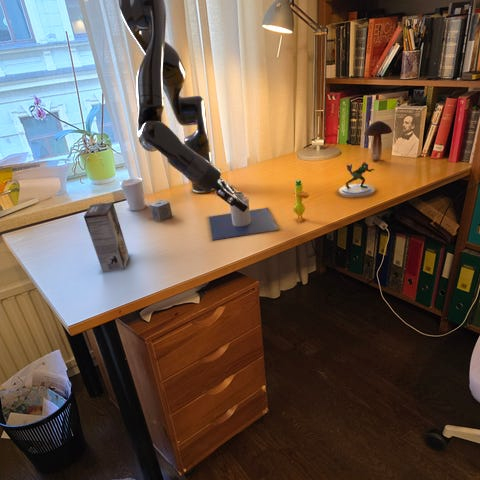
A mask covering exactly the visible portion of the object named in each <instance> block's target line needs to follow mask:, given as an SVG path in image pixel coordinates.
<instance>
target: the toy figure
mask: <svg viewBox="0 0 480 480" xmlns="http://www.w3.org/2000/svg"><path fill="white" fill-rule="evenodd" d="M294 191H295V192H294V195H295V200H296V204H295V203H294V204H293V205H294V206H293V207H294V208H293V209H292V210H293V212H294V213H295V214H296V216H297V221H298V222H303V221H306V219H305V217H303V215H304V213H305V211H306V208H305V205H304V203H303V199H308V198H309V196H310V193H308V192H306V191H304V190H303V183H302V180H301V179H298V180H295V184H294Z"/></svg>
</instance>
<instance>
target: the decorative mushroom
mask: <svg viewBox="0 0 480 480" xmlns="http://www.w3.org/2000/svg"><path fill="white" fill-rule="evenodd" d="M392 133H393V130H392V128H391V126H390V125H389V124H387V123H385V122H384V121H381V120H377V121H373V122H372V123H370V125H368V126H367V127H366V129H365V130H364V132H363V135H364V136H368V137H373V138H372V143H371V150H370V159H371V160H373V161H378V160H380V159H381V157H382V152H383V151H382V149H383V147H382V145H383V142H382V135H387V134H392Z"/></svg>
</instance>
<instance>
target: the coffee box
mask: <svg viewBox="0 0 480 480" xmlns="http://www.w3.org/2000/svg"><path fill="white" fill-rule="evenodd" d="M83 218H84V221H85V224H86V228H87V230H88V233H89V236H90V239H91V242H92V246H93V248H94V251H95V254H96V257H97V260H98V263H99V266H100V269H101V271H102V273H108V272H114V271H115V272H116V271H122V270H125V269H126V267H127V262H128V259H129V256H130V254H129V251H128V250H129V249H128V248H127V244H126V240H125V236H124V234H123V230H122V228H121V227H122V226H121V224H120V220H119V217H118V213H117V211H116V207H115V205H114V201H112V202H101V203H94V204H90V205H89V207H88V208H87V210H86V212H85V213H84V215H83Z"/></svg>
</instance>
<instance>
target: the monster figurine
mask: <svg viewBox="0 0 480 480" xmlns="http://www.w3.org/2000/svg"><path fill="white" fill-rule="evenodd" d="M370 164H371V163H367V162H366V161H364V162H362V163H361V165H360V166H359V165H358V168H357V169H355V170H353V171H352V169H353V163H351V164H350V165H349V164H346V169H347V171H348V172H349V174H350V176H352V178H351V179H349V180H348V181H346V182H345V185H344V186H341V187H340V188H339V189H338V194H339V195H340V196H342V197H345V198H350V199H351V198H353V199H356V198H366V197H369V196H372V195H373V194H375V191H376V187H374V186H373V185H370V184H367V183H365V182H366V178H365V177H364V176H363V174H365V173H366V172H369V173H372V171H373V172H375V169H374V168H371V169H370V168H369V165H370ZM357 180H361V183H352V182H355V181H357Z"/></svg>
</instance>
